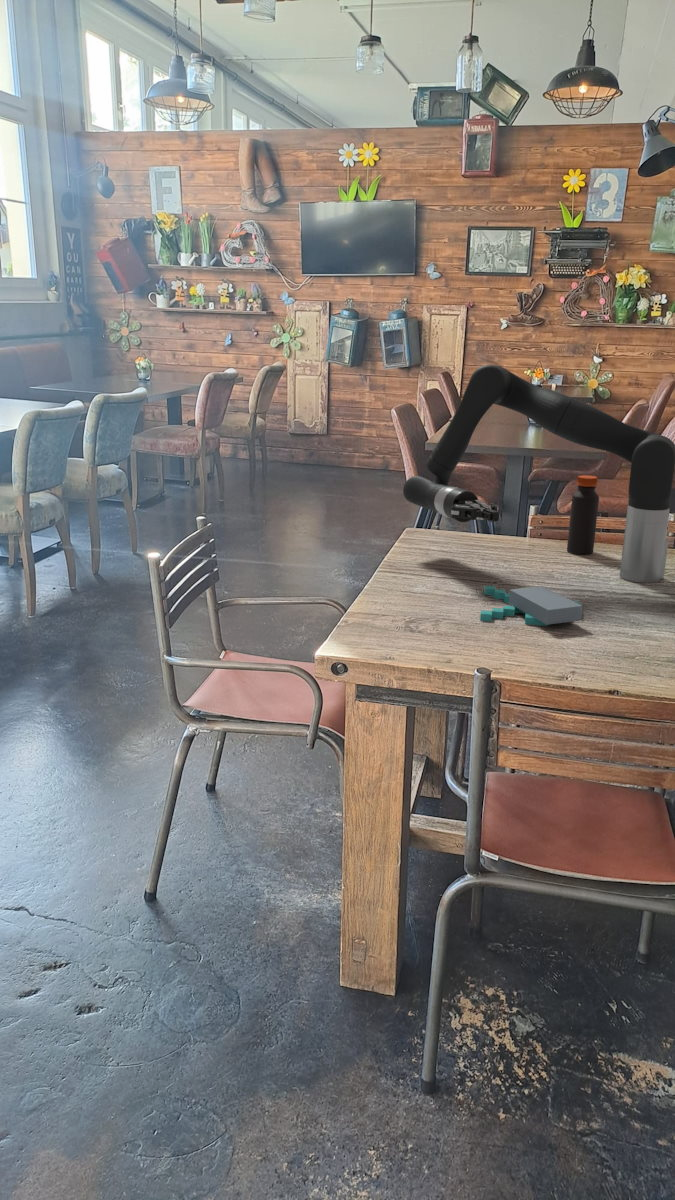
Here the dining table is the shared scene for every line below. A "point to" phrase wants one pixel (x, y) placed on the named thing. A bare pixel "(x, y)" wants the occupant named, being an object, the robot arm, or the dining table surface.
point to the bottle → (583, 516)
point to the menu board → (545, 605)
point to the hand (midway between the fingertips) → (495, 517)
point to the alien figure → (505, 608)
